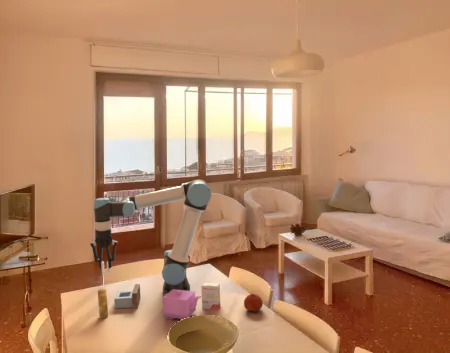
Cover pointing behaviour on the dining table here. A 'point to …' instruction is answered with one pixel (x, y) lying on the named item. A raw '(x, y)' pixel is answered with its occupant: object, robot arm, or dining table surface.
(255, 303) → the fruit
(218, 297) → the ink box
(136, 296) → the board
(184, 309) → the teapot
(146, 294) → the dining table surface
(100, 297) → the golden brown tall cylinder
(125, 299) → the block
